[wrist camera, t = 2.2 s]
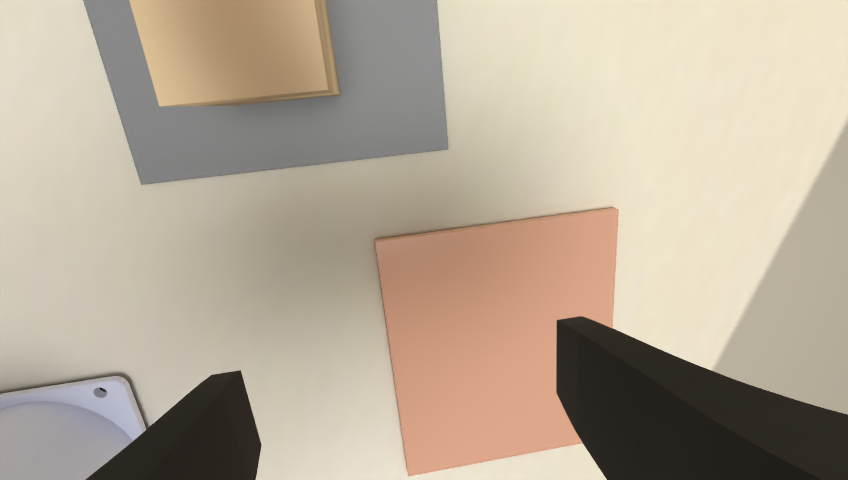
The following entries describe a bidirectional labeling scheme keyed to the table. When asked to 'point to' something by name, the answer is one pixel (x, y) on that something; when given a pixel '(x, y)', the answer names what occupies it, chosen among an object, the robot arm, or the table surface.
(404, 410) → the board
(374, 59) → the grey square mat
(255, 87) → the oak block
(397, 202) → the table surface
